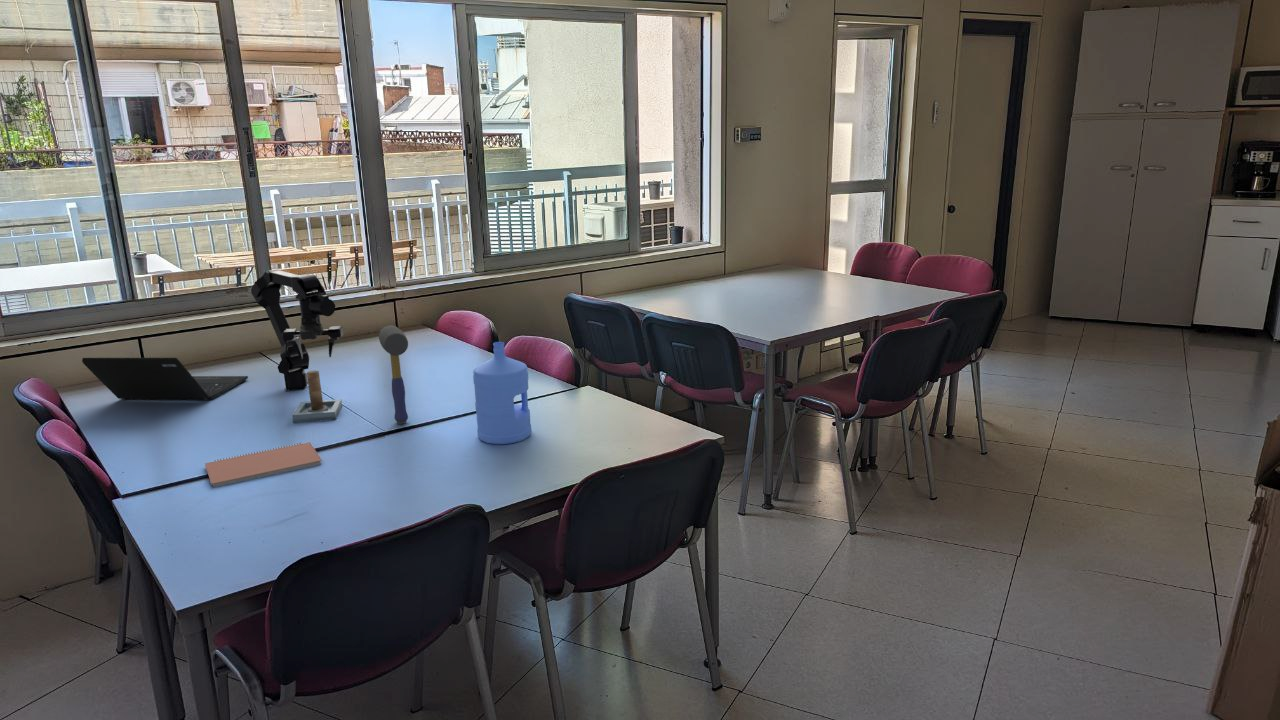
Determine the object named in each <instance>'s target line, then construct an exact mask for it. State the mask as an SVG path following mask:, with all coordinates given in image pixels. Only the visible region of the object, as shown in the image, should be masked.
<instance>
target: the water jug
mask: <svg viewBox="0 0 1280 720" xmlns="http://www.w3.org/2000/svg"><path fill="white" fill-rule="evenodd" d="M492 345H493V350H492V351H493V357H492V358H489V359H488V360H486V361H483V362H481V363H478V365H476V366H475V367H474V368H473V371H472V373H473V375H472V378H473V381H472V382H473V386H474V397H475V403H474V404H475V405H474V406H475V412H476V413H475V414H476V423H477V429H476V430H477V431H476V432H477V437H478V439H479V440H481V442H484V443H487V444H491V445H509V444H510V445H511V444H514V443H515V444H516V443H519V442H521V441H524V440H526V439H527V438H529V436H530V435H531V433H532V425H531V410H530V408H529V403H528V402H529V401H528V399H529V398H528V390H529V371H528V366H527V364H526V363H524V362H522V361H520V360H516V359H514V358H511V357H508V356H506V354H505V353H506V349H505V342H504V341H503V342H502V341H495V342H493V343H492ZM519 395H520V397H521V404H516V403H515V402H514V401H515V400H514V399H515V397H516V396H519Z"/></svg>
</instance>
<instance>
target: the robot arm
mask: <svg viewBox="0 0 1280 720" xmlns="http://www.w3.org/2000/svg"><path fill="white" fill-rule="evenodd" d="M283 286H285V287H288V288H291V289H292V291H293V292H294V293H297V294H296V296H295V298H294V299H296V300H298V301H299V309H300V317H301V318H300V319H301V320H300V322H301V323H300V328H299V330H298V328H296V327H295V328H291V327H290V325H289V323H288V320H287V318H286V316H285V314H284V310H283V309H282V307H281V305H280V301H281V296H282V294H281V289H282V287H283ZM325 290H326V289H325V287H324V286H323V285H322V283H321V281H320V280H319V278H318V277H317V275H316V274H314V273H310V274H309V273H307V274H296V273H290V272H288V271H287V272H286V271H284V270H283V271H282V270H281V269H278V268H277V269H271V270H270V269H269V270H266V271H265V272H264V273H263V275H262V276H261V277H259V278H258V279H257V280H255V282H254V283H253V285H252V287H251V290H250V292H251V295H252V297H253V298H254V300H255V301H256V303H257V304H258V305H259V306H261V307H262V308H263V309H264V310H265V312H266V315H267V316H268V319H269V322H270V323H271V325H272V328H273V330H274V332H275V335H276V337H277V340H278V342H279V344H280V346H281V348H280V349H281V350H280V354H279V356H280V359H281V360H280V362H279V364H278V365H277V370H278V372H279V374H283V378H284V385H285V388H284V391H299V390H305V389H306V388H307V386H308V380H307V372H305V370H308V369H309V366H310V355H309V352H308V351H307V349H306V345H305V344H304V343H301V341H307V340H315V339H317V337H319V336H328V339H327V341H328V357H329V358H332V354H333V350H334V346H335V342H336V341H337V340H339V339H340V338H342V336H343V335H344V328H343V327H342V326H341V325H334V326H333V325H332V326H329V328H328V329H327V328H326V329H323V325H322V323H321V322H322V321H321V316H323V317H331V316H332V315H333V314H334V313H335V310H336V304H335V302H334V301H333V300H332V299H330V298H329V295H328V294H327V292H326V291H325ZM300 339H301V340H300Z"/></svg>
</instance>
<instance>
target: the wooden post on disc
mask: <svg viewBox="0 0 1280 720" xmlns="http://www.w3.org/2000/svg"><path fill="white" fill-rule="evenodd" d="M306 374H307V382H308V384H307V386H308V393H309V400H310V401H311V407H310V408H308V412H318V411H328V407H327V406H325V405H323V400H324V399H323V393H322V385H321V377H320V371H319V370H309V371H307V372H306Z"/></svg>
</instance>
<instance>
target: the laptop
mask: <svg viewBox="0 0 1280 720" xmlns="http://www.w3.org/2000/svg"><path fill="white" fill-rule="evenodd" d="M81 362H82V364H83V365H84V366H85V367H86V368H87V369H88V370H89V372H91V373H92V374H93V375H94V376H95V377H96V378H97V379H98V380H99V381H100V382H101V383H102V384H103V385H104V386H105V387H106V388H107V389H108V390H109V391H110V392H111V393H112V394H113V395H114V396H115V397H116V398H117V399H119V400H120V399H121V400H123V401H127V400H130V401H133V400H140V401H141V400H144V401H146V400H147V401H151V400H152V401H153V400H156V401H158V400H160V401H162V400H165V401H167V400H168V401H169V400H171V401H172V400H173V401H175V400H176V401H178V400H179V401H181V400H182V401H185V400H186V401H192V400H193V401H200V400H201V401H210V400H213V399H215V398H216V397H218V396H220V395H222V394H223V393H226V392H227V391H229V390H232V388H234V387H236V386H238V385H240V384H241V383H243V382H245V381H247V380H248V379H249V375H238V376H237V375H236V376H235V375H231V376H230V375H228V376H227V375H225V376H224V375H221V376H220V375H219V376H218V375H217V376H216V375H213V376H212V375H206V376H205V375H204V376H203V375H198V376H197V375H192V374H191V373H190V372H189V370H188V369H187V368H186V367H185V366H184V364H182V362H181V361H180V359H178V357H82V359H81Z"/></svg>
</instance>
